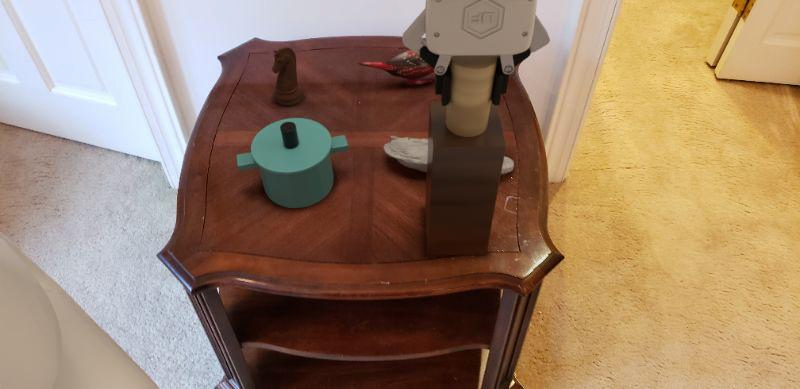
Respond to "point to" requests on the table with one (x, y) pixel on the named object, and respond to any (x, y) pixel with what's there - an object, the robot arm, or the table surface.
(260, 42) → the table surface
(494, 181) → the pedestal
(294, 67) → the chess piece
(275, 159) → the pot lid
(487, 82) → the cylinder
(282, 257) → the table surface
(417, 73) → the decorative bird figurine
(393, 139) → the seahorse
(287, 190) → the pot
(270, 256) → the table surface
